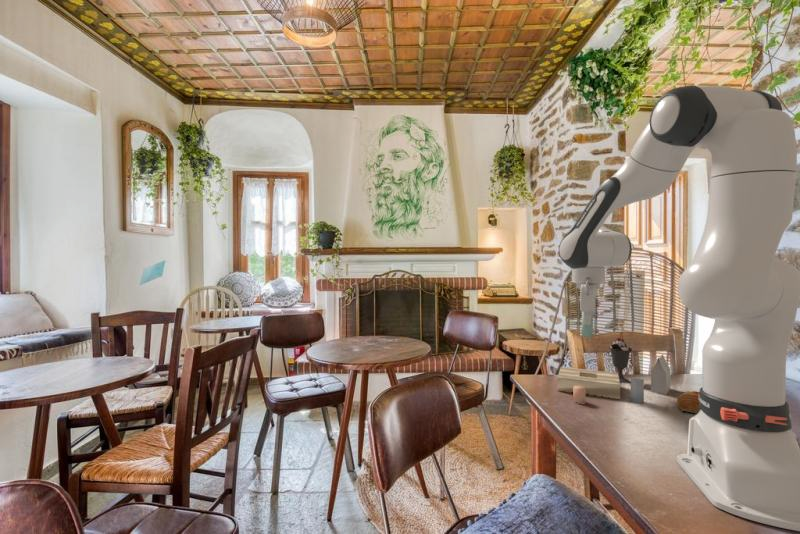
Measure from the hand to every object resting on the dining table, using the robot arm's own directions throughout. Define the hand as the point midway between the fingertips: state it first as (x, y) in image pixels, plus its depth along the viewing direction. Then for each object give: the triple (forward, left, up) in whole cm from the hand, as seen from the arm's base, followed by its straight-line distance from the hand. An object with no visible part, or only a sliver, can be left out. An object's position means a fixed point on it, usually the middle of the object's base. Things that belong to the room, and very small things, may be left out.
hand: (587, 323), depth 115 cm
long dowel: (0, 0, -4) cm, 4 cm away
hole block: (0, 0, -19) cm, 19 cm away
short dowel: (-13, +2, -20) cm, 24 cm away
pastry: (-5, -25, -20) cm, 32 cm away
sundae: (+13, -9, -20) cm, 25 cm away
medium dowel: (-6, -12, -20) cm, 24 cm away
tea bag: (+7, -19, -20) cm, 28 cm away
